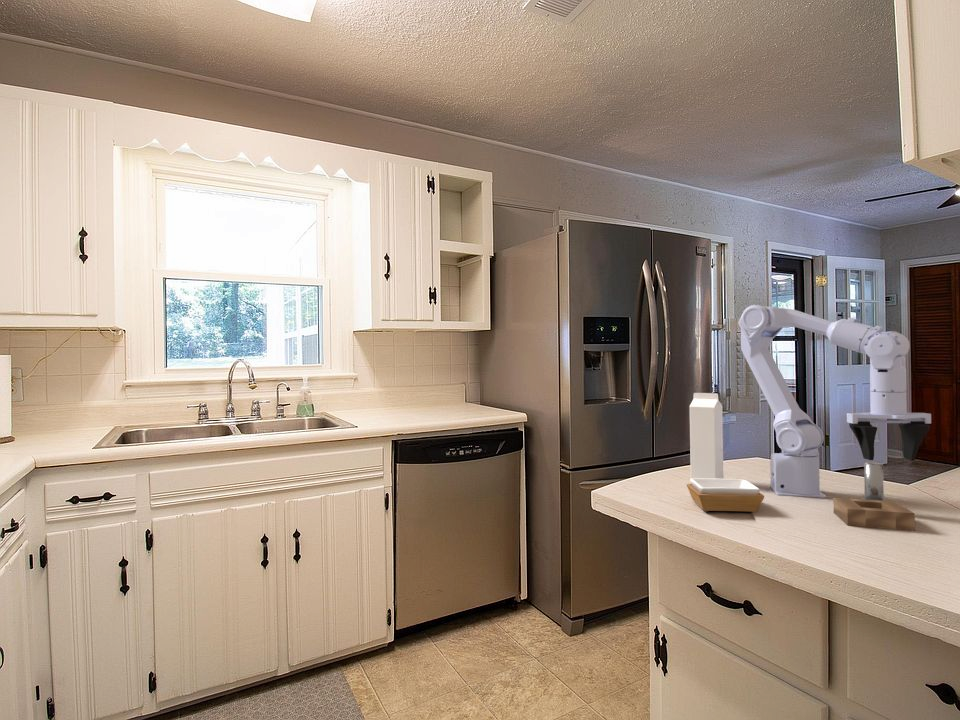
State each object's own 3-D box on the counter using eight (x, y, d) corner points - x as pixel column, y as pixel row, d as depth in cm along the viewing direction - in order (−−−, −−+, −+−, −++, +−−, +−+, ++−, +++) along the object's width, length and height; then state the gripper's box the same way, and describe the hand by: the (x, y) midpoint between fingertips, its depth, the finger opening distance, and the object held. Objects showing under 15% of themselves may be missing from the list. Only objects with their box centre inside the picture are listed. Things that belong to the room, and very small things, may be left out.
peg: (868, 510, 102) (867, 464, 102) (862, 506, 105) (861, 461, 105) (886, 511, 101) (885, 465, 101) (880, 507, 104) (879, 462, 104)
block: (847, 525, 94) (847, 508, 94) (833, 512, 102) (833, 497, 102) (914, 530, 91) (914, 513, 91) (895, 517, 98) (894, 501, 98)
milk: (715, 485, 125) (714, 394, 125) (690, 481, 129) (688, 393, 129) (723, 480, 130) (722, 392, 129) (699, 477, 134) (697, 391, 133)
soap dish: (699, 513, 104) (699, 488, 104) (685, 500, 113) (685, 477, 113) (765, 514, 102) (765, 488, 102) (746, 501, 112) (745, 477, 112)
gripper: (861, 393, 101) (862, 463, 101) (942, 392, 99) (943, 463, 99) (840, 390, 108) (841, 456, 108) (915, 390, 106) (916, 456, 106)
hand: (888, 459), depth 104 cm, fingers open, 7 cm apart
